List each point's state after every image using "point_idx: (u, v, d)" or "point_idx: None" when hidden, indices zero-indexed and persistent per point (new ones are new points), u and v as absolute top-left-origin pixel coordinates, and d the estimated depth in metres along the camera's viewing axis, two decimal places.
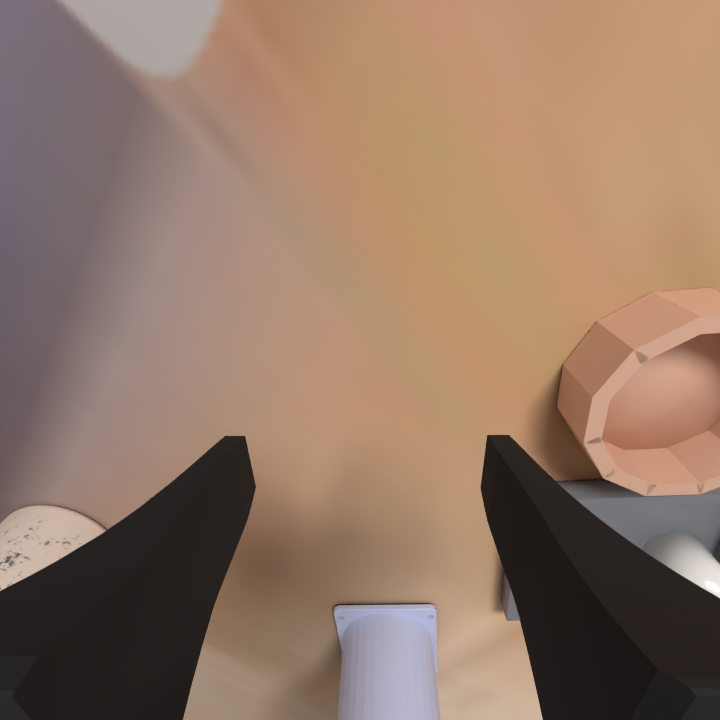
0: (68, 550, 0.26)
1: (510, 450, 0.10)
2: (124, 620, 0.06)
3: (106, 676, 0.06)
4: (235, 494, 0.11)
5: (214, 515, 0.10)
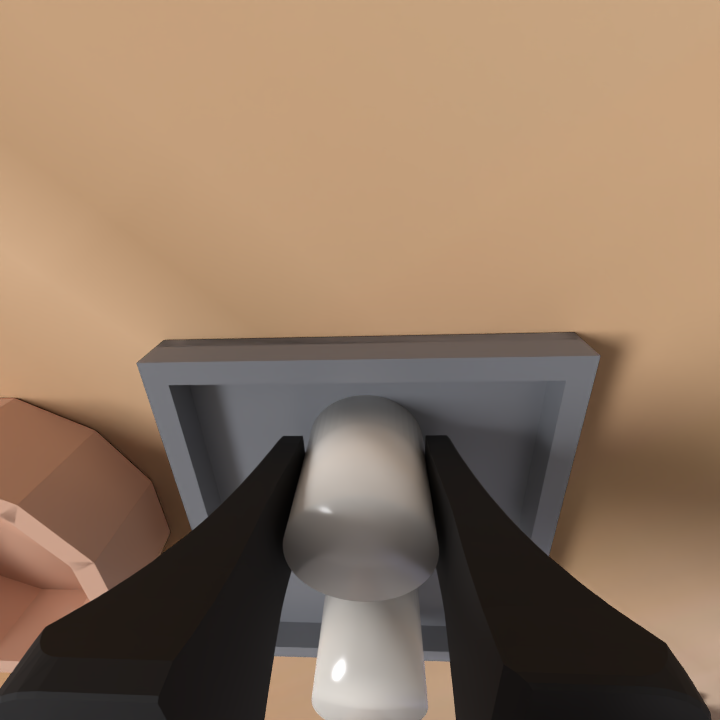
0: None
1: (442, 450, 0.10)
2: (227, 623, 0.06)
3: (216, 680, 0.06)
4: None
5: (283, 516, 0.10)
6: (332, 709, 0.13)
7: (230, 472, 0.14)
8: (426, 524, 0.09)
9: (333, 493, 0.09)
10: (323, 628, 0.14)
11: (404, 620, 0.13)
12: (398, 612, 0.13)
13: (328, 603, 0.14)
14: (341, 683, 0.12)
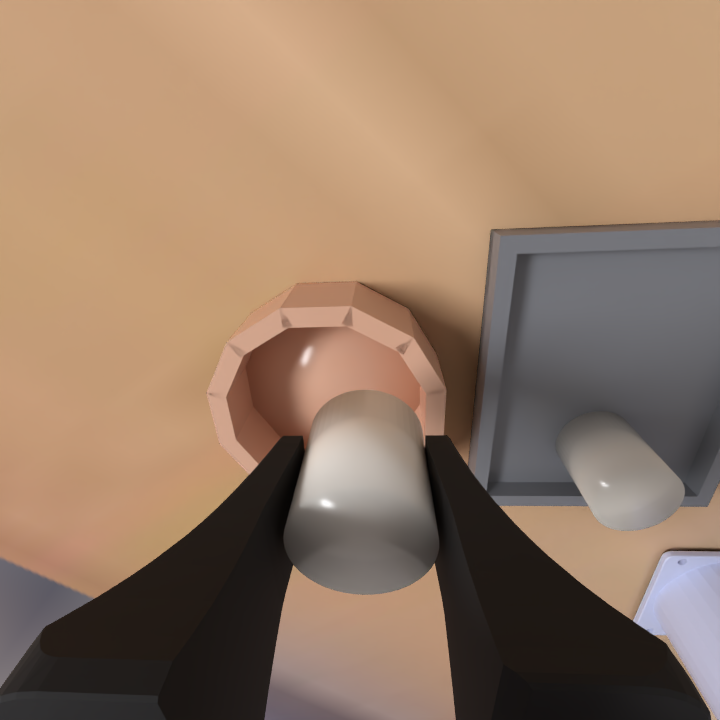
0: None
1: (442, 450, 0.10)
2: (227, 623, 0.06)
3: (215, 680, 0.06)
4: None
5: (282, 516, 0.10)
6: (606, 506, 0.17)
7: (512, 339, 0.18)
8: (427, 517, 0.09)
9: (334, 485, 0.09)
10: (583, 457, 0.18)
11: (650, 447, 0.18)
12: (644, 442, 0.18)
13: (578, 443, 0.19)
14: (625, 478, 0.16)
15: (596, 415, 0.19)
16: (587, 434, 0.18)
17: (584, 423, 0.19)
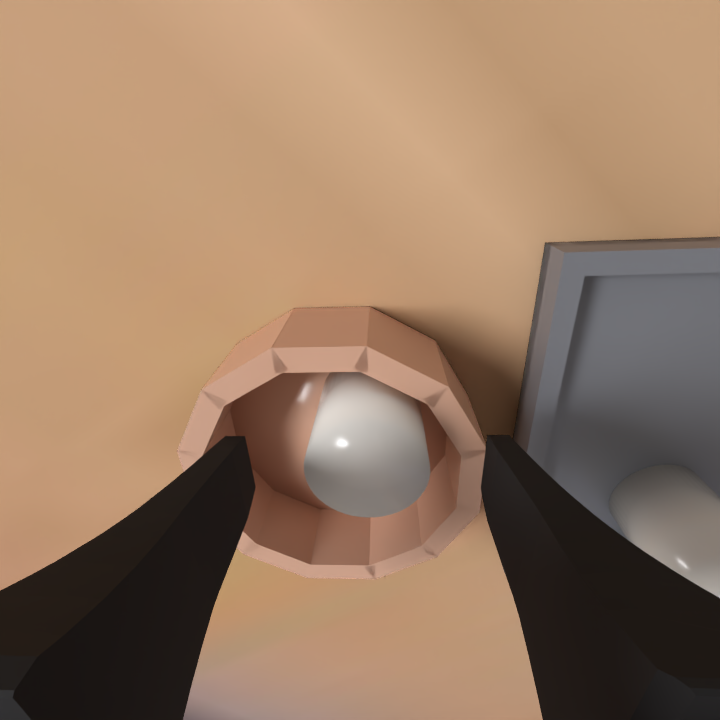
0: None
1: (510, 450, 0.10)
2: (124, 620, 0.06)
3: (106, 676, 0.06)
4: (235, 494, 0.11)
5: (214, 515, 0.10)
6: None
7: (565, 379, 0.14)
8: (420, 445, 0.11)
9: (346, 419, 0.11)
10: (653, 528, 0.14)
11: None
12: None
13: (644, 508, 0.15)
14: (717, 565, 0.12)
15: (664, 470, 0.16)
16: (656, 497, 0.15)
17: (649, 480, 0.15)
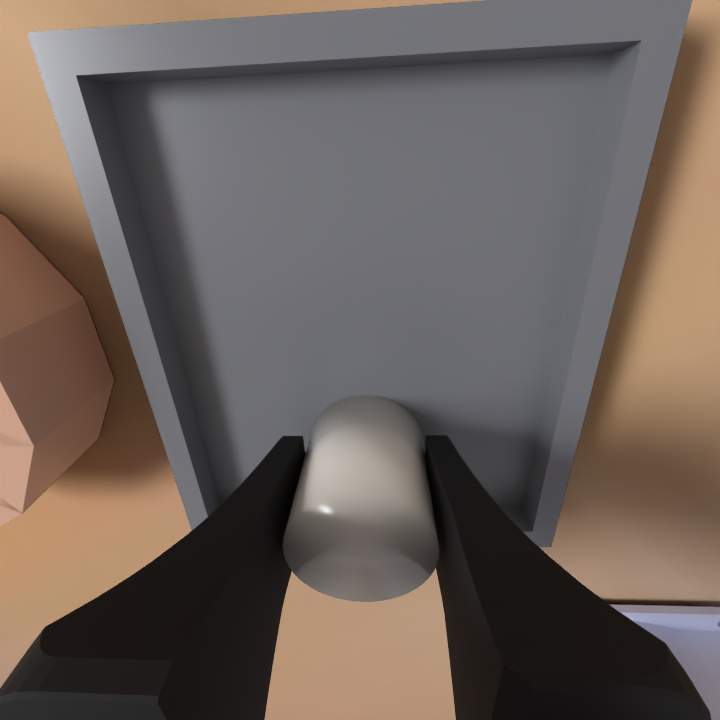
0: None
1: (442, 450, 0.10)
2: (227, 622, 0.06)
3: (216, 680, 0.06)
4: None
5: (283, 515, 0.10)
6: (311, 562, 0.09)
7: (180, 268, 0.10)
8: None
9: None
10: (301, 472, 0.10)
11: (407, 455, 0.10)
12: (399, 446, 0.10)
13: (309, 448, 0.11)
14: (320, 514, 0.09)
15: (352, 401, 0.12)
16: (321, 433, 0.11)
17: (330, 414, 0.12)
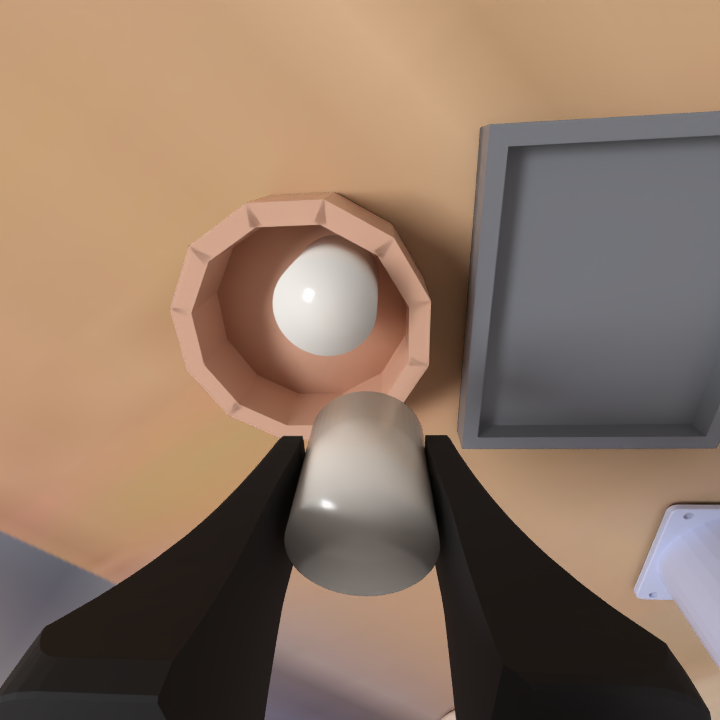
0: None
1: (442, 450, 0.10)
2: (227, 623, 0.06)
3: (215, 680, 0.06)
4: None
5: (283, 516, 0.10)
6: (312, 557, 0.09)
7: (504, 256, 0.17)
8: (367, 281, 0.13)
9: (307, 257, 0.13)
10: (302, 468, 0.11)
11: (407, 450, 0.10)
12: (399, 441, 0.10)
13: (310, 444, 0.11)
14: (322, 508, 0.09)
15: (353, 397, 0.12)
16: (322, 429, 0.11)
17: (330, 410, 0.12)
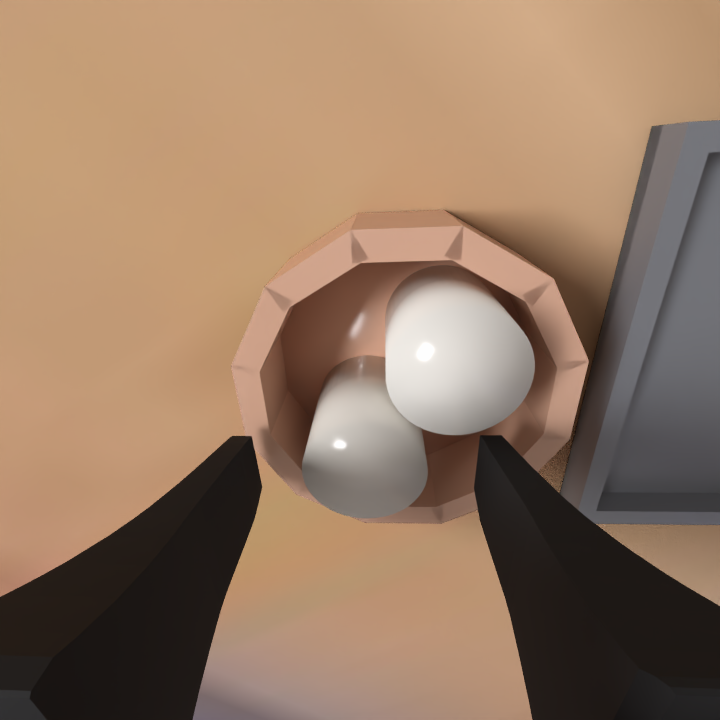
0: None
1: (502, 450, 0.10)
2: (136, 620, 0.06)
3: (119, 676, 0.06)
4: (242, 494, 0.11)
5: (222, 515, 0.10)
6: (325, 483, 0.12)
7: None
8: (528, 341, 0.09)
9: (445, 306, 0.09)
10: (315, 415, 0.13)
11: None
12: None
13: (320, 397, 0.13)
14: (333, 439, 0.11)
15: (356, 360, 0.14)
16: (331, 385, 0.13)
17: (338, 371, 0.14)
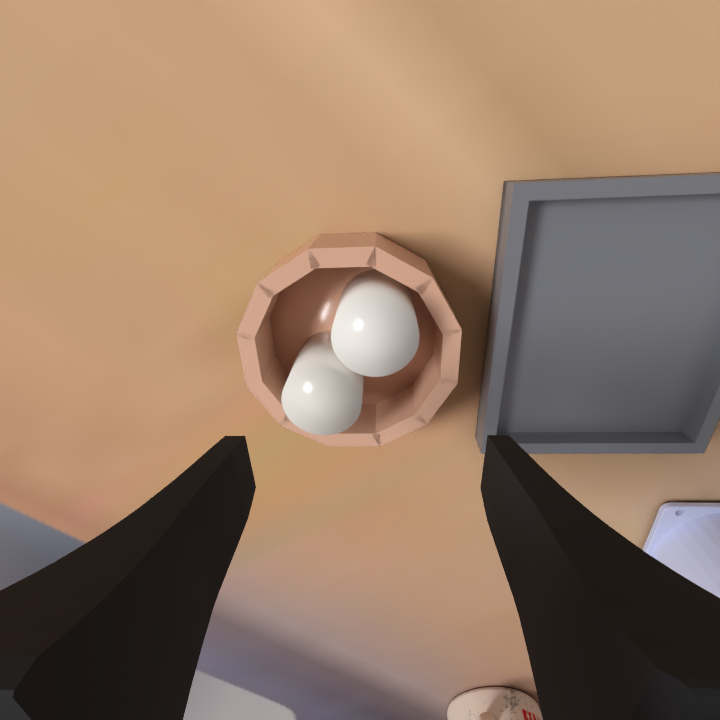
0: None
1: (510, 450, 0.10)
2: (124, 620, 0.06)
3: (106, 676, 0.06)
4: (235, 494, 0.11)
5: (214, 515, 0.10)
6: (296, 409, 0.18)
7: (522, 288, 0.19)
8: (414, 318, 0.16)
9: (364, 296, 0.15)
10: None
11: None
12: None
13: (296, 358, 0.20)
14: (300, 378, 0.17)
15: (321, 333, 0.20)
16: (303, 349, 0.20)
17: (308, 341, 0.20)
